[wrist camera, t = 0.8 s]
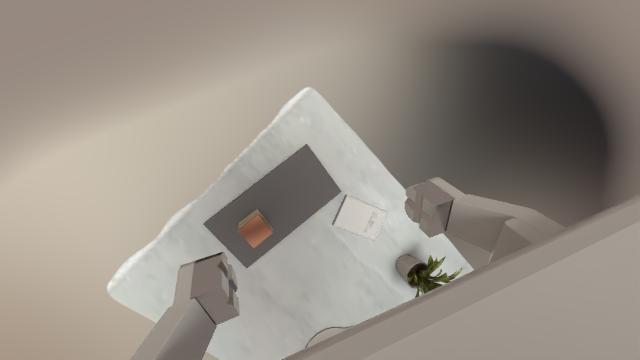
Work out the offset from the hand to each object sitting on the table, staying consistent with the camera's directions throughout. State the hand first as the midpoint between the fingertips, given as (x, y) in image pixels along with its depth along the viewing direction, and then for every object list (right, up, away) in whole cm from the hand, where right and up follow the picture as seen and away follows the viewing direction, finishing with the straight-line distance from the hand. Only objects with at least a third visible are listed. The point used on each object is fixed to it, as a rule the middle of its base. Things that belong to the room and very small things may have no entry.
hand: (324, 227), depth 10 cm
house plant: (+24, -22, +58) cm, 67 cm away
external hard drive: (+10, -7, +52) cm, 54 cm away
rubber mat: (-10, -4, +45) cm, 47 cm away
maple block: (-15, -8, +44) cm, 47 cm away
